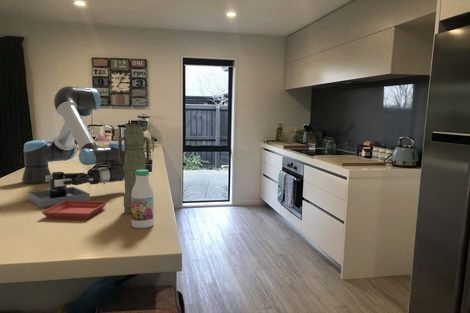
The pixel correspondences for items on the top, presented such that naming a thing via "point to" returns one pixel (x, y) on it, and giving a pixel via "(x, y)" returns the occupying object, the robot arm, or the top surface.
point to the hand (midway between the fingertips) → (50, 181)
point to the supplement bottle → (59, 190)
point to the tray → (44, 199)
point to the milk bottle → (142, 201)
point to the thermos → (132, 159)
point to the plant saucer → (74, 210)
